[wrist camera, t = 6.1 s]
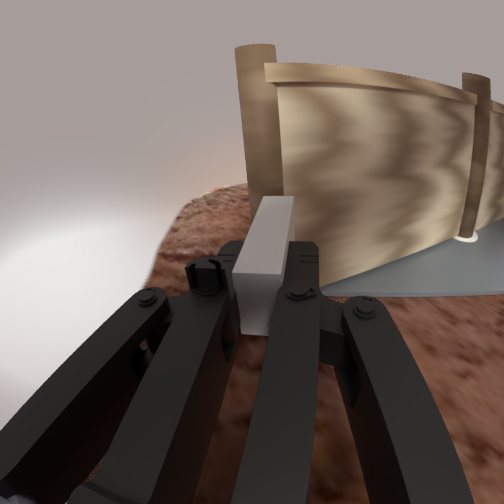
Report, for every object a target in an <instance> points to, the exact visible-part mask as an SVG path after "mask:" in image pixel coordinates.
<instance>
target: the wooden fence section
mask: <svg viewBox="0 0 504 504" xmlns="http://www.w3.org/2000/svg"><path fill="white" fill-rule="evenodd" d="M462 88H463V90H464V91H468V92H471V93H474V94H476V95H477V105H475V120H474V138H473V150H472V159H471V168H470V175H469V182H468V189H467V195H466V200H465V206H464V211H463V216H462V220H461V225H460V229H459V234H458V235H457V236H458V237H462V238H471V237H472V236H473V232H474V231H476V230H478V229H480V228H482V227H485V226H487V225H489V224H491V223H493V222H495V221H497V220H500V219H502V218H504V105H503V104H500V103H498V102H495V101H493V100H491V90H490V79H489V78H487V77H484V76H481V75H477V74H472V73H462Z"/></svg>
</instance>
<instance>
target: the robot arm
mask: <svg viewBox="0 0 504 504" xmlns="http://www.w3.org/2000/svg"><path fill="white" fill-rule="evenodd" d="M185 270H186V274H187V278H188V282H189V286H190V289H189V291H188V293H187V294H185V295H180V296H174V297H167V295H166V293H165V291H164V290H163V289H161V288H158V287H149V288H145V289H142V290H140V291H138V292H137V293H135V294H134V295H133V296H132V297H131V298H130V299H128V300H127V301H126V302H125V303H124V304H123V305H122V306H121V307H120V308H119V309H118V310H117V311H116V312H115V313H114V314H113V315H111V316H110V317H109V318H108V319H107V320H106V321H105V322H104V323H103V324H102V325H101V326H100V327H99V328H98V329H97V330H96V331H95V332H94V333H93V334H92V335H91V336H90V337H89V338H88V339H87V340H86V341H85V342H84V343H83V344H82V345H81V346H80V347H79V348H78V349H77V350H76V351H75V352H74V353H73V354H72V355H71V356H70V357H69V358H68V359H67V360H66V361H65V362H64V363H63V364H62V365H61V366H60V367H59V368H58V369H57V370H56V371H55V372H54V373H53V374H52V375H51V376H50V377H49V378H48V380H46V381H45V382H44V383H43V385H42V386H41V387H40V388H39V389H38V390H37V391H36V392H35V393H34V394H33V395H32V396H31V397H30V398H29V400H28V401H27V402H26V403H25V404H24V405H23V406H22V407H21V408H20V410H18V412H17V413H16V414H15V415H14V416H13V417H12V419H10V421H9V422H8V423H7V424H6V425H5V426H4V427H3V429H2V430H1V431H0V504H65V503H66V502H67V501H68V502H67V504H191V503H192V499H193V496H194V493H195V490H196V486H197V483H198V480H199V477H200V473H201V470H202V467H203V463H204V460H205V457H206V453H207V450H208V447H209V443H210V440H211V437H212V433H213V430H214V427H215V423H216V420H217V417H218V413H219V410H220V406H221V403H222V400H223V396H224V393H225V389H226V386H227V382H228V379H229V376H230V372H231V369H232V365H233V362H234V358H235V355H236V351H237V348H238V335H237V332H238V329H239V326H240V328H241V334H250V335H264V336H269V337H268V342H267V347H266V352H265V356H264V361H263V366H262V371H261V376H260V380H259V385H258V390H257V394H256V399H255V403H254V408H253V412H252V417H251V421H250V426H249V430H248V434H247V439H246V443H245V447H244V451H243V455H242V460H241V464H240V468H239V472H238V476H237V480H236V484H235V488H234V492H233V496H232V500H231V503H230V504H306V498H307V491H308V483H309V476H310V467H311V458H312V449H313V439H314V428H315V416H316V402H317V386H318V367H319V362H322V363H325V364H328V365H332V366H334V371H335V375H336V378H337V381H338V385H339V388H340V391H341V395H342V398H343V402H344V405H345V409H346V412H347V416H348V419H349V423H350V427H351V430H352V434H353V438H354V441H355V445H356V449H357V453H358V457H359V461H360V465H361V468H362V472H363V477H364V481H365V485H366V489H367V493H368V497H369V502H370V504H474V501H473V498H472V495H471V491H470V488H469V485H468V482H467V480H466V477H465V474H464V471H463V468H462V466H461V463H460V460H459V457H458V455H457V452H456V450H455V447H454V445H453V442H452V440H451V437H450V435H449V432H448V430H447V428H446V425H445V423H444V421H443V418H442V416H441V414H440V412H439V409H438V407H437V405H436V403H435V401H434V399H433V396H432V394H431V392H430V390H429V388H428V386H427V384H426V382H425V380H424V378H423V376H422V374H421V372H420V370H419V368H418V366H417V364H416V362H415V360H414V358H413V356H412V354H411V352H410V350H409V348H408V347H407V345H406V343H405V341H404V339H403V337H402V335H401V334H400V332H399V330H398V328H397V326H396V325H395V323H394V321H393V319H392V317H391V316H390V314H389V312H388V310H387V309H386V307H385V306H384V305H383V303H382V302H381V301H379V300H377V299H376V298H374V297H370V296H355V297H352V298H350V299H348V300H347V301H346V302H345V304H342V303H338V302H335V301H332V300H330V299H328V298H327V297H325V296H324V295H323V294H322V292H321V291H320V287H319V248H318V247H317V245H316V244H315V243H314V242H313V241H295V229H294V196H263V199H262V201H261V203H260V206H259V208H258V210H257V213H256V215H255V218H254V220H253V223H252V225H251V227H250V230H249V232H248V235H247V237H246V239H245V241H229V242H228V243H226V244H225V245H224V246H222V247H221V249H220V251H219V253H218V256H217V257H202V258H199V259H196V260H194V261H192V262H190V263H189V264H188V265H187V266H186V267H185ZM143 340H145V342H146V344H145V345H144V346H143V347H142V348H140V346H139V344H140V343H141V342H142V341H143ZM106 453H107V454H106ZM105 454H106V456H105V458H104V460H103V462H102V465H101V467H100V469H99V471H98V473H97V475H96V477H95V478H94V479H93V480H92V481H91V482H87V483H84V484H82V483H83V482H84V480H85V479H86V478H87V477H88V475H89V474H90V473H91V472H92V470H93V469H94V468H95V467H96V465H97V464H98V463H99V462H100V460H101V459H102V458H103V456H104V455H105Z"/></svg>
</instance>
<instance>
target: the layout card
mask: <svg viewBox="0 0 504 504" xmlns="http://www.w3.org/2000/svg"><path fill="white" fill-rule="evenodd" d="M320 291H321V292H322V294H323V295H324V296H337V297H355V296H370V297H441V296H475V295H497V294H504V218H502V219H500V220H497V221H495V222H493V223H491V224H489V225H487V226H485V227H482V228H480V229H478V230H476V231H474V232H473V236H472V237H471V238H462V237H458V236H455V237H453V238H450V239H448V240H445V241H443V242H441V243H438V244H436V245H433V246H431V247H428V248H426V249H423V250H421V251H418V252H415V253H413V254H410V255H408V256H405V257H402V258H400V259H397V260H395V261H392V262H389V263H387V264H384V265H381V266H378V267H376V268H373V269H370V270H367V271H365V272H362V273H359V274H356V275H353V276H350V277H348V278H345V279H342V280H339V281H336V282H333V283H330V284H327V285H324V286H321V287H320Z"/></svg>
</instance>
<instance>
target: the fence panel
mask: <svg viewBox="0 0 504 504" xmlns="http://www.w3.org/2000/svg"><path fill="white" fill-rule="evenodd" d="M235 58H236V68H237V77H238V78H237V79H238V89H239V98H240V108H241V119H242V129H243V139H244V149H245V159H246V170H247V180H248V191H249V201H250V211H251V222H252V223H253V220H254V218H255V215H256V213H257V210H258V208H259V206H260V203H261V201H262V199H263V196H294V229H295V241H313V242H314V243H315V244H316V245H317V247H318V248H319V287H321V286H324V285H327V284H330V283H333V282H336V281H339V280H342V279H345V278H348V277H350V276H353V275H356V274H359V273H362V272H365V271H367V270H370V269H373V268H376V267H378V266H381V265H384V264H387V263H389V262H392V261H395V260H397V259H400V258H402V257H405V256H408V255H410V254H413V253H415V252H418V251H421V250H423V249H426V248H428V247H431V246H433V245H436V244H438V243H441V242H443V241H445V240H448V239H450V238H453V237H455V236H457V235H458V234H459V229H460V225H461V220H462V216H463V211H464V206H465V200H466V195H467V189H468V182H469V175H470V168H471V159H472V150H473V138H474V120H475V105H477V95H476V94H474V93H471V92H468V91H464V90H461V89H458V88H455V87H451V86H447V85H444V84H440V83H437V82H433V81H429V80H425V79H421V78H416V77H411V76H407V75H402V74H397V73H391V72H386V71H380V70H372V69H365V68H358V67H350V66H349V67H348V66H340V65H327V64H311V63H277V61H276V51H275V46H274V45H271V44H252V45H244V46H240V47H237V48H235Z"/></svg>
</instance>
